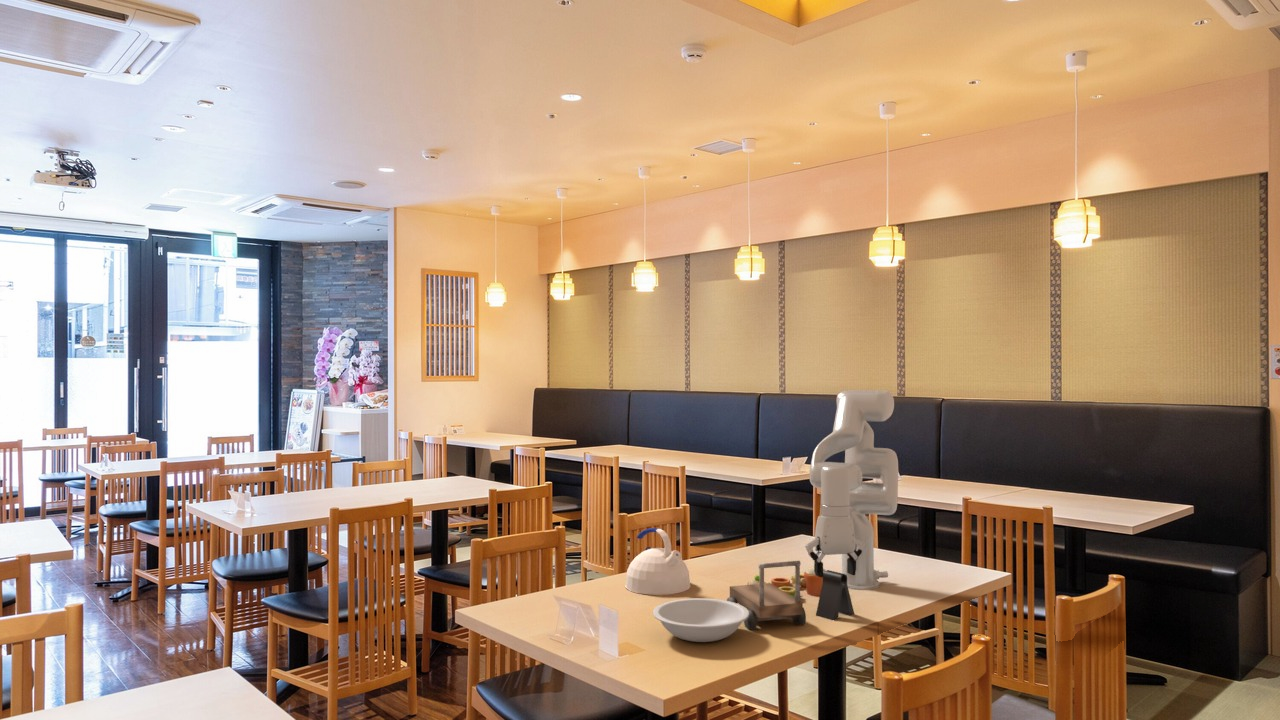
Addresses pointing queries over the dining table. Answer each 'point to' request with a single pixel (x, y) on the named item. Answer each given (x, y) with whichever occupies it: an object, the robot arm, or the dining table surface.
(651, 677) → the dining table surface
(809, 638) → the dining table surface
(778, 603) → the trolley
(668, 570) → the kettle
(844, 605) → the phone stand
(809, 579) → the toy tea set
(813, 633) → the dining table surface
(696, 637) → the soup bowl
